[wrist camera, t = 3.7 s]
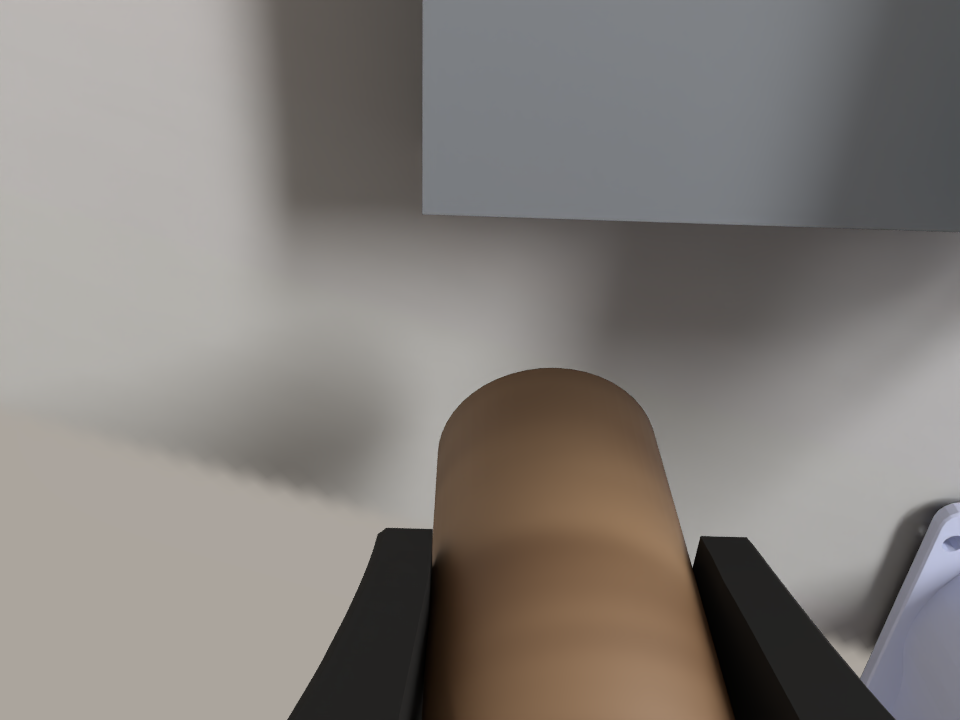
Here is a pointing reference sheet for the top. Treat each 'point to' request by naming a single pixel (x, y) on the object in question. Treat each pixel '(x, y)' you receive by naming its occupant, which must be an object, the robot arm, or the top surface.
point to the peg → (562, 564)
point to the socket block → (694, 111)
